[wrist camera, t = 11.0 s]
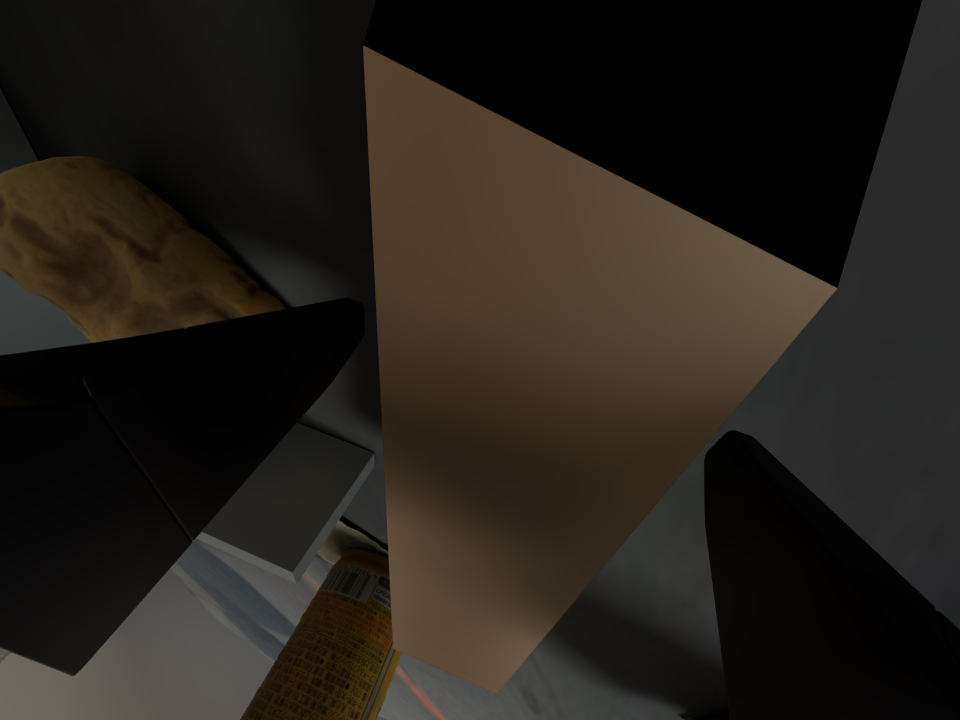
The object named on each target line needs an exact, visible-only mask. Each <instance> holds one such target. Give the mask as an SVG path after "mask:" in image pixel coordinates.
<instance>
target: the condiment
mask: <svg viewBox="0 0 960 720" xmlns="http://www.w3.org/2000/svg"><path fill="white" fill-rule="evenodd" d="M372 545H373V546H374V547H373V546H372ZM336 549H337V550H338V551H339V552H337V551H336ZM339 553H340V554H341V555H340V554H339ZM317 554H318V555H319V556H321V557H322V558H323V559H324V560H325V561H327V562H330V563H332V564H333V566H332V568H331V570H330V572H329V573H328V575H327V577H326V579H325V580H324V582H323V584H322V585H321V587H320V588H319V590H318V591H317V594H316V595H315V597H314V598H313V599H312V601H311V603H310V605H309V606H308V608H307V610H306V612H305V613H304V614H303V615H302V617H301V620H300V622H299V624H298V625H297V626H296V628H295V630H294V631H293V633H292V635H291V637H290V638H289V640H288V642H287V643H286V645H285V646H284V648H283V650H282V651H281V653H280V654H279V656H278V658H277V660H276V661H275V663H274V665H273V666H272V668H271V670H270V671H269V673H268V675H267V676H266V678H265V680H264V681H263V683H262V684H261V687H260V688H259V689H258V690H257V692H256V694H255V696H254V698H253V699H252V701H251V703H250V704H249V706H248V708H247V709H246V711H245V713H244V714H243V716H242V718H241V719H240V720H376V719H377V716H378V713H379V711H380V709H381V706H382V704H383V702H384V701H385V697H386V693H387V691H388V689H389V687H390V684H391V681H392V678H393V676H394V673H395V670H396V668H397V666H398V663H399V659H400V656H401V654H402V652H400V651H397V650H395V649H393V634H392V614H391V594H390V574H389V554H388V551H387V550H385V549H383V548H381V547H380V545H379V544H377V543H376V542H374V541H372V540H370V539H369V538H368V537H367V536H365V535H364V534H362V533H360V532H359V531H357V530H354V529H352V528H350V527H347V526H346V525H345V524H344V523H343V522H341V521H338V522H337V524H336V525H335V527H334V528H333V530H332V531H331V533H330V534H329V536H328V537H327V539H326V540H325V542H324V543H323V545H322V546H321V548H320V549H319V551H318V552H317Z"/></svg>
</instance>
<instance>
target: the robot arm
mask: <svg viewBox="0 0 960 720" xmlns="http://www.w3.org/2000/svg"><path fill="white" fill-rule="evenodd" d="M364 331H365V311H364V305H363V304H362V303H361V302H359V301H356V300H353V299H350V298H343V299H337V300H332V301H326V302H321V303H315V304H310V305H305V306H299V307H294V308H288V309H283V310H277V311H272V312H266V313H261V314H255V315H250V316H245V317H239V318H234V319H228V320H223V321H217V322H212V323H206V324H201V325H195V326H190V327H187V328H186V329H185V328H179V329H173V330H168V331H162V332H157V333H151V334H145V335H139V336H133V337H127V338H120V339H114V340H107V341H100V342H93V343H86V344H79V345H72V346H64V347H57V348H50V349H42V350H35V351H28V352H21V353H13V354H6V355H0V663H1V661H3V660H4V659H5V658H6V657H7V656H8V655H9V654H11V653H15V654H17V655H20V656H22V657H25V658H27V659H30V660H33V661H35V662H38V663H40V664H43V665H46V666H48V667H51V668H53V669H56V670H58V671H61V672H63V673H66V674H68V675H71V676H74V675H76V674H77V673H78V672H79V671H80V670H81V669H82V668H83V667H84V666H85V664H86V663H87V662H88V661H89V660H90V659H91V658H92V657H93V655H94V654H95V653H96V652H97V651H98V650H99V649H100V648H101V647H102V645H103V644H104V643H105V642H106V641H107V640H108V639H109V637H110V636H111V635H112V634H113V633H114V632H115V630H116V629H117V628H118V627H119V626H120V625H121V623H123V621H124V620H125V619H126V618H127V617H128V616H129V615H130V613H131V612H132V611H133V610H134V609H135V608H136V607H137V605H138V604H139V603H140V601H142V600H143V599H144V597H145V596H146V595H147V594H148V592H150V591H151V589H152V588H153V587H154V586H155V584H157V582H158V581H159V580H160V579H161V578H162V577H163V576H164V574H165V573H166V572H167V571H168V570H169V569H170V568H171V566H172V565H173V564H174V563H175V562H176V561H177V560H178V558H179V557H180V556H181V555H182V554H183V553H184V552H185V550H186V549H187V548H188V547H189V546H190V545H191V544H192V541H193V540H195V539H196V537H197V536H198V535H199V534H200V533H201V532H202V531H203V529H204V528H205V527H206V526H207V525H208V524H209V523H210V521H211V520H212V519H213V518H214V517H215V516H216V515H217V513H218V512H219V511H220V510H221V509H222V508H223V507H224V505H225V504H226V503H227V502H228V501H229V500H230V499H231V497H232V496H233V495H234V494H235V493H236V492H237V491H238V489H239V488H240V487H241V486H242V485H243V484H244V483H245V481H246V480H247V479H248V478H249V477H250V476H251V475H252V473H253V472H254V471H255V470H256V469H257V468H258V467H259V465H260V464H261V463H262V462H263V461H264V460H265V459H266V457H267V456H268V455H269V454H270V453H271V452H272V451H273V449H274V448H275V447H276V446H277V445H278V444H279V443H280V441H281V440H282V439H283V438H284V437H285V436H286V435H287V433H288V432H289V431H290V430H291V429H292V428H293V426H294V425H295V424H296V423H297V422H298V421H299V420H300V418H301V417H302V416H303V415H304V414H305V413H306V412H307V410H308V409H309V408H310V407H311V406H312V405H313V404H314V402H315V401H316V400H317V399H318V398H319V397H320V396H321V394H322V393H323V392H324V391H325V390H326V389H327V387H328V386H329V385H330V384H331V383H332V381H333V380H334V379H335V377H336V376H337V375H338V373H339V372H340V370H341V369H342V367H343V366H344V364H345V363H346V361H347V360H348V359H349V357H350V356H351V354H352V353H353V351H354V350H355V348H356V347H357V345H358V344H359V343H360V341H361V340H362V338H363V335H364ZM704 508H705V527H706V537H707V544H708V552H709V560H710V568H711V575H712V583H713V591H714V599H715V607H716V614H717V622H718V630H719V638H720V645H721V653H722V661H723V669H724V676H725V684H726V692H727V700H728V707H729V715H724V716H720V717H715V718H710V719H706V720H960V630H959V629H958V628H957V627H956V626H955V625H954V624H953V623H952V622H951V621H950V620H949V619H948V618H946V617H945V616H944V615H943V614H942V613H941V612H939V611H936V609H935V607H934V606H933V605H932V604H931V603H930V602H929V601H928V600H927V599H926V598H925V597H924V596H923V595H922V594H921V593H920V592H919V591H917V590H916V589H915V588H914V587H913V586H912V585H911V584H910V583H909V582H908V581H907V580H906V579H905V578H904V577H902V576H901V575H900V574H899V573H898V572H897V571H896V570H895V569H894V568H893V567H892V566H891V565H890V564H889V563H887V562H886V561H885V560H884V559H883V558H882V557H881V556H880V555H879V554H878V553H877V552H876V551H875V550H874V549H872V548H871V547H870V546H869V545H868V544H867V543H866V542H865V541H864V540H863V539H862V538H861V537H860V536H859V535H858V534H856V533H855V532H854V531H853V530H852V529H851V528H850V527H849V526H848V525H847V524H846V523H845V522H844V521H843V520H841V519H840V518H839V517H838V516H837V515H836V514H835V513H834V512H833V511H832V510H831V509H830V508H829V507H828V506H826V505H825V504H824V503H823V502H822V501H821V500H820V499H819V498H818V497H817V496H816V495H815V494H814V493H813V492H812V491H810V490H809V489H808V488H807V487H806V486H805V485H804V484H803V483H802V482H801V481H800V480H799V479H798V478H797V477H795V476H794V475H793V474H792V473H791V472H790V471H789V470H788V469H787V468H786V467H785V466H784V465H783V464H782V463H780V462H779V461H778V460H777V459H776V458H775V457H774V456H773V455H772V454H771V453H770V452H769V451H768V450H767V449H765V448H764V447H763V446H762V445H761V444H760V443H759V442H758V441H757V440H756V439H755V438H754V437H752V436H750V435H747V434H744V433H741V432H738V431H735V430H731V431H728V432H726V433H725V434H724V435H723V436H722V437H721V438H720V439H719V440H718V441H717V442H716V443H715V444H714V445H713V446H712V447H711V448H710V449H709V450H708V452H707V453H706V455H705V459H704Z"/></svg>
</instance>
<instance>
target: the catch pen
mask: <svg viewBox="0 0 960 720" xmlns="http://www.w3.org/2000/svg"><path fill="white" fill-rule="evenodd" d="M37 161H38V159H37V157H36V155H35V153H34V151H33V150H32V148H31V146H30V144H29V142H28V140H27V138H26V136H25V134H24V132H23V131H22V129H21V127H20V125H19V123H18V121H17V119H16V117H15V115H14V113H13V111H12V110H11V108H10V106H9V104H8V102H7V100H6V98H5V96H4V94H3V92H2V91H1V89H0V174H1V173H3V172H5V171H8V170H10V169H13V168H16V167H19V166H22V165H25V164H30V163H34V162H37ZM86 343H92V342H91V341H90V340H89V339H88V338H87V337H86V336H85V335H84V334H83V333H82V332H81V331H80V330H79V329H78V328H77V327H76V326H74V325H73V324H72V322H71V321H70V320H69V318H68V317H67V316H66V314H65V311H63V310H61V309H60V308H58V307H56V306H55V305H53V304H51V303H50V302H49V301H48V300H47V299H45V298H43V297H40V296H37V295H35V294H32V293H30V292H27V291H26V290H24V289H23V288H22V287H20V286H19V285H18V284H17V283H16V282H15V281H14V280H13V279H11V278H9V277H8V276H7V275H6V274H5V273H4V272H2V271H1V270H0V355H6V354H13V353H21V352H28V351H35V350H42V349H50V348H57V347H64V346H72V345H79V344H86ZM373 468H374V453H373V452H370V451H368V450H365V449H362V448H360V447H357V446H355V445H352V444H350V443H347V442H345V441H342V440H340V439H337V438H335V437H332V436H330V435H327V434H324V433H322V432H319V431H317V430H314V429H312V428H309V427H307V426H304V425H302V424H299V423H296V424H295V425H294V426H293V428H292V429H291V430H290V431H289V432H288V433H287V435H286V436H285V437H284V438H283V439H282V440H281V441H280V443H279V444H278V445H277V446H276V447H275V448H274V449H273V451H272V452H271V453H270V454H269V455H268V456H267V457H266V459H265V460H264V461H263V462H262V463H261V464H260V465H259V467H258V468H257V469H256V470H255V471H254V472H253V473H252V475H251V476H250V477H249V478H248V479H247V480H246V481H245V483H244V484H243V485H242V486H241V487H240V488H239V489H238V491H237V492H236V493H235V494H234V495H233V496H232V497H231V499H230V500H229V501H228V502H227V503H226V504H225V505H224V507H223V508H222V509H221V510H220V511H219V512H218V513H217V515H216V516H215V517H214V518H213V519H212V520H211V521H210V523H209V524H208V525H207V526H206V527H205V528H204V529H203V531H202V532H201V533H200V534H199V535H198V536H197V537H196V539H198V540H200V541H202V542H205V543H207V544H209V545H211V546H213V547H216V548H218V549H220V550H222V551H225V552H227V553H229V554H231V555H233V556H236V557H238V558H240V559H242V560H244V561H247V562H249V563H251V564H253V565H255V566H258V567H260V568H262V569H264V570H266V571H269V572H271V573H273V574H275V575H277V576H280V577H282V578H284V579H286V580H289V581H291V582H293V583H295V584H297V583H298V581H299V580H300V578H301V577H302V575H303V574H304V572H305V571H306V569H307V568H308V566H309V565H310V563H311V562H312V560H313V559H314V557H315V555H316V554H317V552H318V551H319V549H320V548H321V546H322V545H323V543H324V542H325V540H326V539H327V537H328V536H329V534H330V533H331V531H332V530H333V528H334V527H335V525H336V524H337V522H338V521H339V519H340V518H341V516H342V515H343V513H344V512H345V510H346V509H347V507H348V506H349V504H350V502H351V501H352V499H353V498H354V496H355V495H356V493H357V492H358V490H359V489H360V487H361V486H362V484H363V483H364V481H365V480H366V478H367V477H368V475H369V474H370V472H371V471H372V469H373Z"/></svg>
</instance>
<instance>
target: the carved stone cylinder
mask: <svg viewBox="0 0 960 720" xmlns="http://www.w3.org/2000/svg"><path fill="white" fill-rule="evenodd" d="M0 270H1V271H2V272H4V273H5V274H6V275H7V276H8V277H9V278H11V279H13V280H14V281H15V282H16V283H17V284H18V285H19V286H20V287H22V288H23V289H24V290H26V291H27V292H30V293H32V294H35V295H37V296H40V297H43V298H45V299H47V300H48V301H49V302H50V303H51V304H53V305H55V306H56V307H58V308H60V309H61V310H63V311H65V314H66V316H67V317H68V318H69V320H70V321H71V322H72V324H73V325H74V326H76V327H77V328H78V329H79V330H80V331H81V332H82V333H83V334H84V335H85V336H86V337H87V338H88V339H89V340H90V341H91V342H92V343H93V342H100V341H107V340H114V339H120V338H127V337H133V336H139V335H145V334H151V333H157V332H162V331H168V330H173V329H179V328H185V329H186V328H187V327H190V326H195V325H201V324H206V323H212V322H217V321H223V320H228V319H234V318H239V317H245V316H250V315H255V314H261V313H266V312H272V311H277V310H283V309H287V308H286V307H285V306H284V305H283V304H282V303H281V302H280V301H279V300H278V299H276V298H275V297H274V296H272V295H271V294H269V293H268V292H266V291H264V290H263V289H262V288H261V286H260V284H259V283H258V282H256V281H255V280H253V279H252V278H250V276H249V274H248V273H247V272H246V271H245V270H244V269H242V268H240V267H238V266H237V265H236V264H235V263H234V262H233V259H232V258H231V256H229V255H228V254H227V253H226V252H225V251H224V250H222V249H221V248H220V247H219V246H217V245H216V244H214V243H213V242H212V241H211V240H210V239H209V238H208V237H206V236H205V235H203V234H201V233H200V232H198V231H195V230H193V229H192V227H191V226H190V224H189V223H188V222H187V220H186V219H185V218H184V217H183V216H182V215H181V213H180V212H178V211H177V210H175V209H174V208H173V207H171V206H170V205H169V204H167V203H166V202H164V201H163V200H162V199H161V198H160V197H159V196H158V195H156V194H155V193H154V192H153V191H152V190H150V189H149V188H147V187H146V186H145V185H143V184H142V183H141V182H139V181H138V180H137V179H135V178H133V177H131V176H129V175H128V174H127V173H125V172H124V171H123V170H122V169H120V168H119V167H117V166H116V165H114V164H112V163H110V162H107V161H104V160H102V159H97V158H93V157H89V156H72V157H53V158H49V159H46V160H42V161H37V162H34V163H30V164H25V165H22V166H19V167H16V168H13V169H10V170H8V171H5V172H3V173H1V174H0Z"/></svg>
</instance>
